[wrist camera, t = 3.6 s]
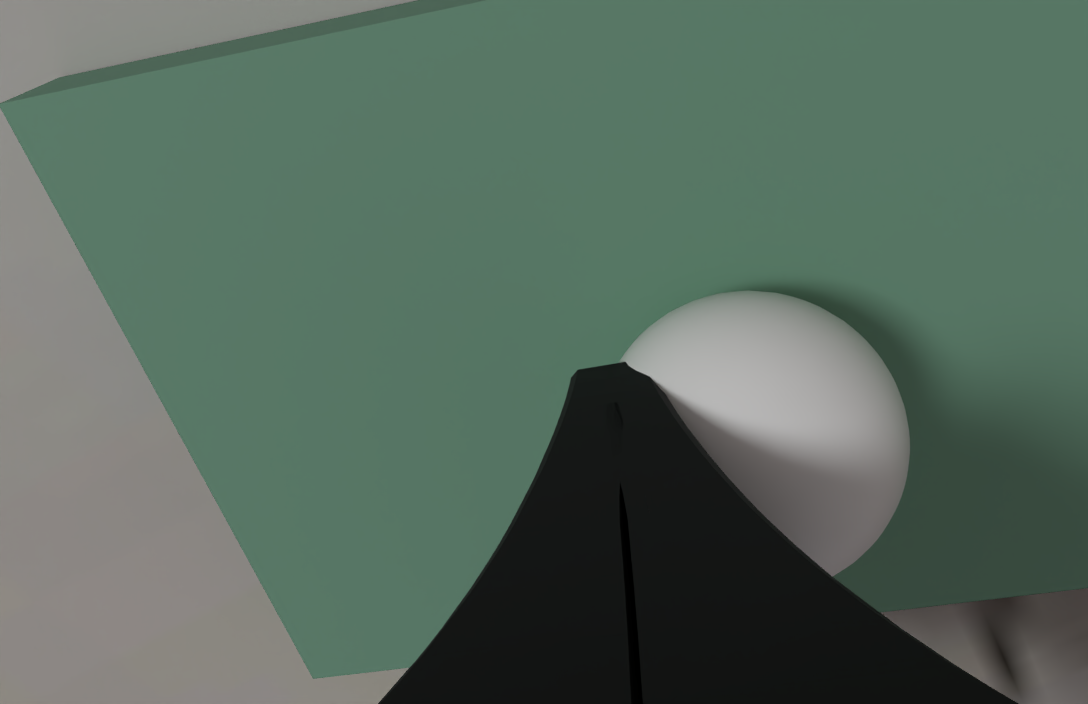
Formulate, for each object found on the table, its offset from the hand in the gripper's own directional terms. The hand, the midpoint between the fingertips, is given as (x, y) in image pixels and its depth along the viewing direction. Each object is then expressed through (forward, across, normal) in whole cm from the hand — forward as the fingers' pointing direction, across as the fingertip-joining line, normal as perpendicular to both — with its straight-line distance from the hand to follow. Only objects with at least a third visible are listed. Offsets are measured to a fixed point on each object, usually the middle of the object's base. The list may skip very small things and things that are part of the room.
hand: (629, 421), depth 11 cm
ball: (0, -2, 0) cm, 2 cm away
